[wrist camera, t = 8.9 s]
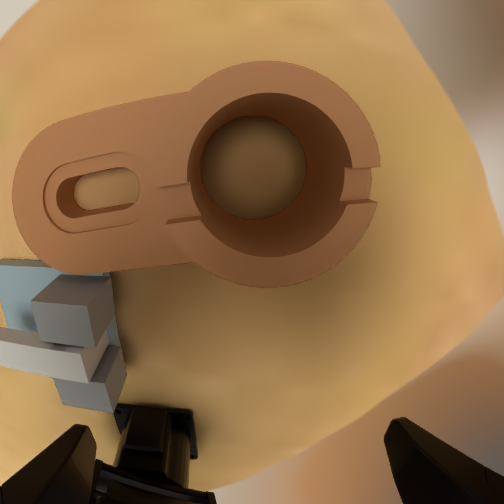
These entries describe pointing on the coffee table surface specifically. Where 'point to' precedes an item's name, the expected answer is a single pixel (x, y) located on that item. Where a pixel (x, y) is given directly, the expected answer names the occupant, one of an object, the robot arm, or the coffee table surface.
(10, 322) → the vise
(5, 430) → the coffee table surface
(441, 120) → the coffee table surface
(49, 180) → the bracket
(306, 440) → the coffee table surface
